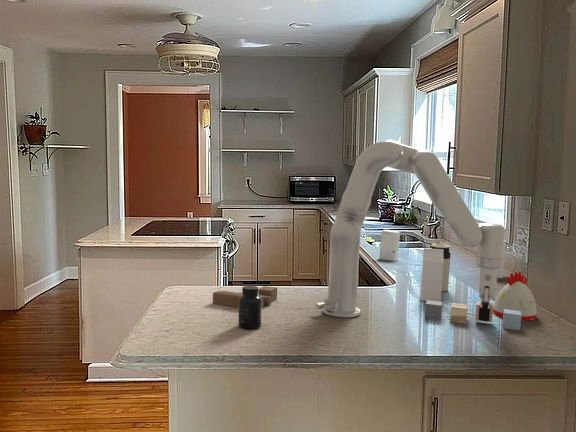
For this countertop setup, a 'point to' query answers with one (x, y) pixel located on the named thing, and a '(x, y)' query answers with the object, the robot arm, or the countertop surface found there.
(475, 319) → the terracotta block
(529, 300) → the kitchen timer
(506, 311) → the slate block
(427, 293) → the milk carton
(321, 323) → the countertop surface
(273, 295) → the wooden block set
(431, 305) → the charcoal block
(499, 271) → the supplement box
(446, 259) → the travel mug
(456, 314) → the maple block
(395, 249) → the skincare box
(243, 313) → the supplement bottle
